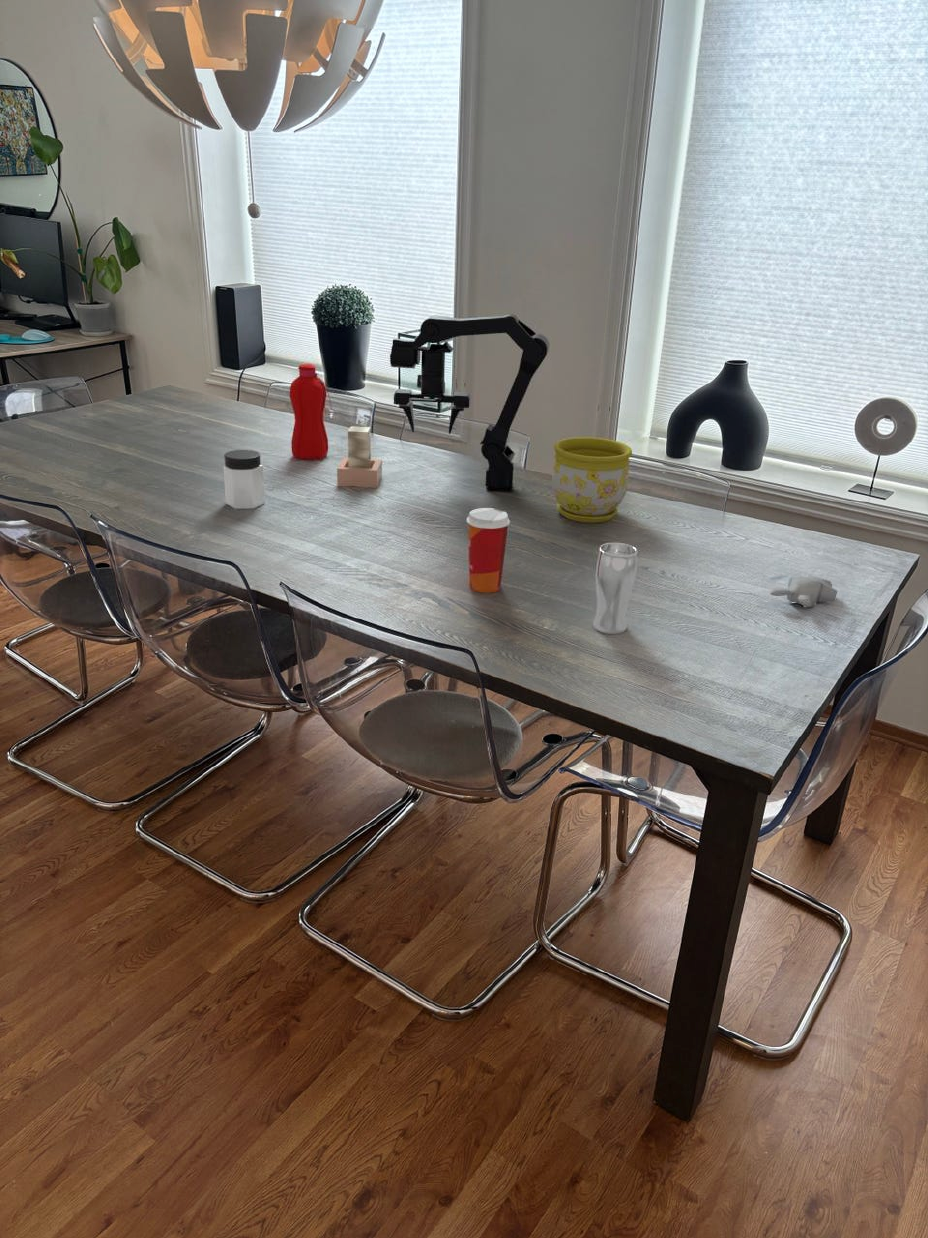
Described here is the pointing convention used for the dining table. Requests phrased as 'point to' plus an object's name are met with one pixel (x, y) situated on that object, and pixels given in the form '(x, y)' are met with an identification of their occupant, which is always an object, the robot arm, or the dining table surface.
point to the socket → (359, 474)
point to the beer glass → (614, 586)
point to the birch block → (359, 447)
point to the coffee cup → (486, 548)
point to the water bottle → (308, 415)
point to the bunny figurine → (807, 590)
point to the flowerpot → (590, 477)
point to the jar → (243, 479)
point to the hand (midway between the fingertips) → (431, 432)
